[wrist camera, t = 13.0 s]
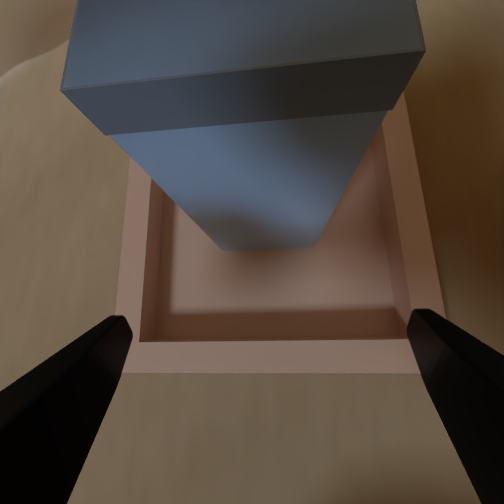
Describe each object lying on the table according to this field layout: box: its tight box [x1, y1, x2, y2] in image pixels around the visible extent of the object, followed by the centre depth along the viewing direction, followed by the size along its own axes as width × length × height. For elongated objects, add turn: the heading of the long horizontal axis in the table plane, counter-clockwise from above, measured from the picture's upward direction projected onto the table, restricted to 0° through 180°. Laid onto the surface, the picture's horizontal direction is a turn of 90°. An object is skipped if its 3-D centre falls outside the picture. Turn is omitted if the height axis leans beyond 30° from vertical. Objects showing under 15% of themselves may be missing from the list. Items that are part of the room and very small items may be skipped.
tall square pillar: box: [60, 0, 426, 251], centre depth 11 cm, size 5×6×13 cm
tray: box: [115, 90, 446, 373], centre depth 17 cm, size 18×18×2 cm
